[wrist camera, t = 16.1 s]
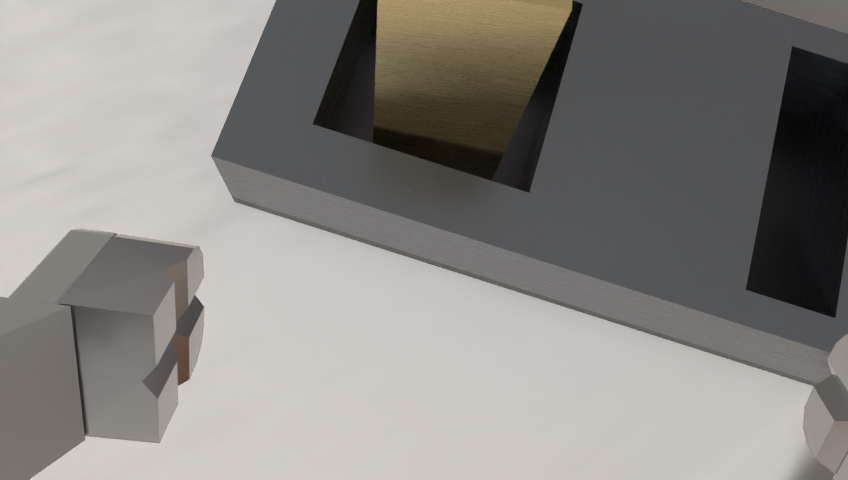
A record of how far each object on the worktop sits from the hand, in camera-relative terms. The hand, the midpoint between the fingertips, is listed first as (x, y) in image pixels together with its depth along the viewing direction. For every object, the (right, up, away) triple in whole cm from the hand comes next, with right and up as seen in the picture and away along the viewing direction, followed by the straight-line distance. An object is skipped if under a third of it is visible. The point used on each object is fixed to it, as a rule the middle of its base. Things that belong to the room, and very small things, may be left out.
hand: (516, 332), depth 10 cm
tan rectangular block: (-1, +5, +16) cm, 17 cm away
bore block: (+5, +4, +16) cm, 17 cm away
